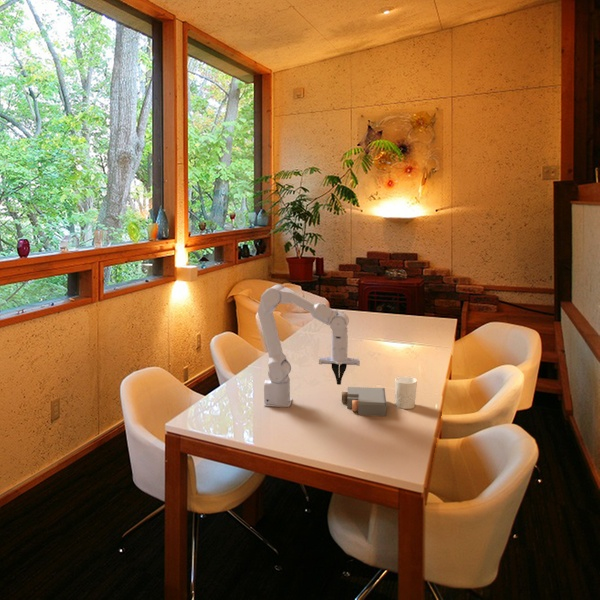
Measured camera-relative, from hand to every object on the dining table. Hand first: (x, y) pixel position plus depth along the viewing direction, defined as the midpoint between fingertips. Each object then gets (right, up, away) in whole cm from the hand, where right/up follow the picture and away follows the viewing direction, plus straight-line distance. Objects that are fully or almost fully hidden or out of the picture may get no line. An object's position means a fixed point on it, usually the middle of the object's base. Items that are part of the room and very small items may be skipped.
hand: (339, 383), depth 186 cm
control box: (+10, -9, +3) cm, 14 cm away
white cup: (+24, -9, +4) cm, 26 cm away
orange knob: (+10, -10, -1) cm, 14 cm away
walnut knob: (+7, -8, +7) cm, 13 cm away
